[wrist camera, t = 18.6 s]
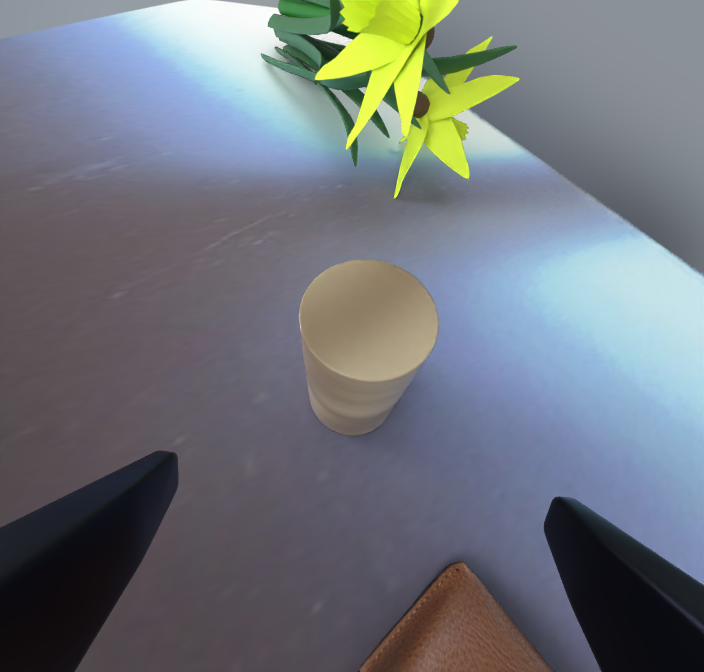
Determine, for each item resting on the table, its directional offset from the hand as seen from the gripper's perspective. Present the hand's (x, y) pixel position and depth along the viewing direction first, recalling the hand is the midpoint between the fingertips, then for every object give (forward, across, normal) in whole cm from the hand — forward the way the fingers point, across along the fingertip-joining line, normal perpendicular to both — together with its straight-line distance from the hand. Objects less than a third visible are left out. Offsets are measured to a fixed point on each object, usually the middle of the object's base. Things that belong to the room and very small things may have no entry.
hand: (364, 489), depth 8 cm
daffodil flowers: (+34, +4, -15) cm, 37 cm away
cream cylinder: (+14, 0, +4) cm, 14 cm away
